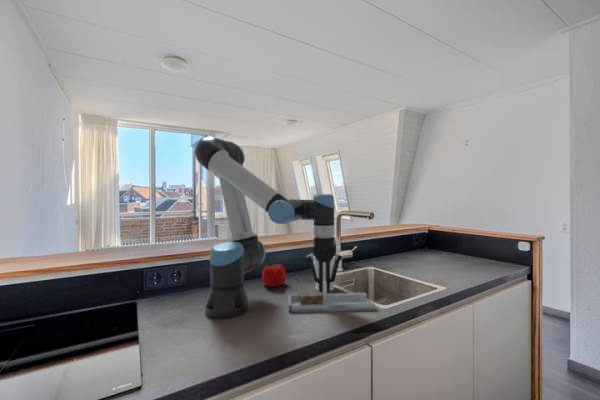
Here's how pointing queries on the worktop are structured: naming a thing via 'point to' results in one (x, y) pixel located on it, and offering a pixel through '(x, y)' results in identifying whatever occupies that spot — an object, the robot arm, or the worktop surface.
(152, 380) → the worktop surface
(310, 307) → the slot rail
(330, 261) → the jar
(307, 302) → the chip
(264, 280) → the tomato
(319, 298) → the brown wooden cube
